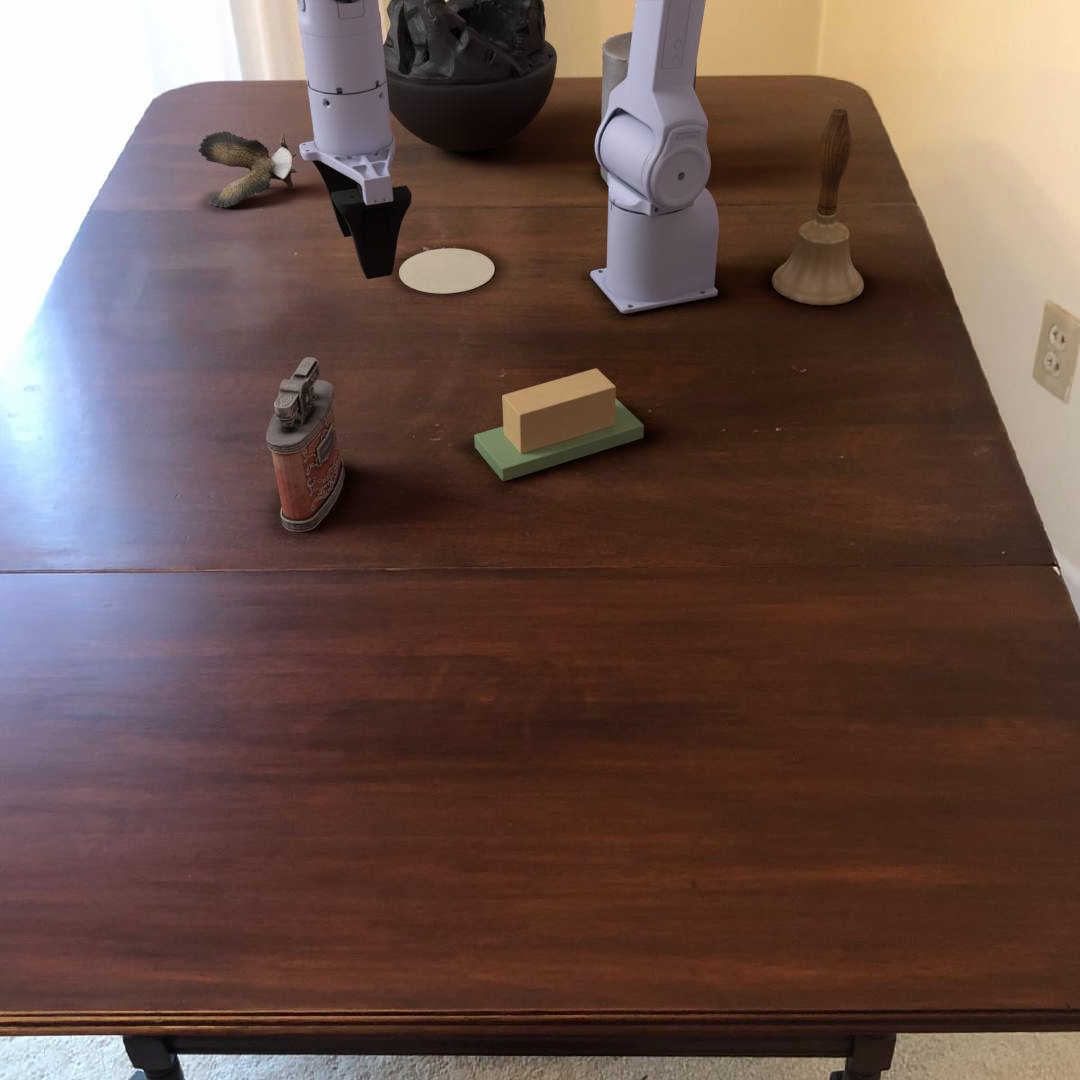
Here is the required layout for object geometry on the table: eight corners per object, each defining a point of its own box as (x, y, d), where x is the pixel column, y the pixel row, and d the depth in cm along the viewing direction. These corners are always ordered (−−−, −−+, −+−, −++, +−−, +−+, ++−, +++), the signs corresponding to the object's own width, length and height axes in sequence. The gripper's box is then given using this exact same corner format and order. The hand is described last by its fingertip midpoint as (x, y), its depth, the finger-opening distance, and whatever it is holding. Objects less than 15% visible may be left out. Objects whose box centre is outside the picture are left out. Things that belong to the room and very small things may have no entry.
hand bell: (761, 296, 110) (782, 122, 100) (783, 257, 116) (804, 89, 106) (853, 313, 108) (884, 136, 98) (871, 271, 114) (901, 100, 104)
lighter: (317, 534, 85) (298, 415, 79) (271, 528, 86) (248, 409, 79) (354, 467, 91) (338, 351, 85) (311, 462, 92) (292, 346, 85)
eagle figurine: (276, 158, 133) (193, 159, 129) (290, 115, 127) (203, 114, 123) (294, 217, 131) (210, 220, 127) (308, 176, 125) (221, 178, 121)
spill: (477, 242, 120) (477, 242, 119) (507, 283, 113) (507, 283, 113) (388, 258, 117) (388, 257, 117) (413, 300, 111) (413, 300, 111)
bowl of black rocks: (343, 155, 136) (322, -24, 124) (453, 100, 149) (443, -67, 137) (487, 197, 127) (479, 9, 115) (591, 135, 140) (593, -41, 128)
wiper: (643, 438, 94) (646, 386, 91) (502, 482, 90) (500, 429, 87) (611, 406, 97) (613, 355, 94) (474, 447, 93) (471, 395, 90)
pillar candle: (705, 169, 132) (716, 25, 123) (662, 202, 126) (670, 54, 116) (626, 151, 136) (631, 11, 127) (582, 182, 130) (583, 37, 120)
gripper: (273, 56, 92) (298, 224, 101) (312, 124, 82) (337, 304, 90) (364, 44, 94) (381, 210, 103) (414, 109, 83) (428, 288, 92)
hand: (366, 253), depth 97 cm, fingers open, 7 cm apart
